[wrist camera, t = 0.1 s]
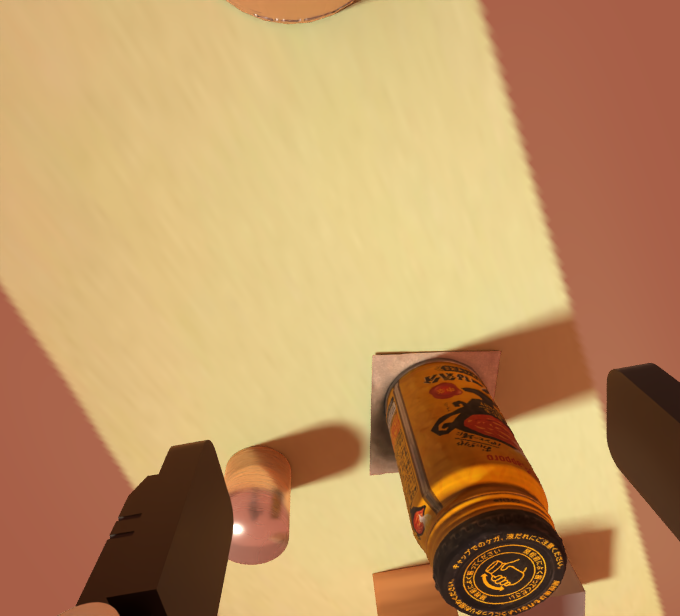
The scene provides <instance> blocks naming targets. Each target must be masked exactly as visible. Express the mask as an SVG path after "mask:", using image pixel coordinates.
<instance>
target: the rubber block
mask: <svg viewBox="0 0 680 616" xmlns="http://www.w3.org/2000/svg"><path fill="white" fill-rule="evenodd" d="M512 616H585V590H584V588H583V586H582V584H581V582H580V581H579V579H578V577H577V575H576V573H575V571H574V569H573V567H572V565H571V564H570V562H569V560H568V558H567V564H566V571H565V574H564V577H563V579H562V581H561V584H560V585H559V586H558V588H557V589H556V590H555V591H554V592H553V593H552V594H551V595H550V597H548V598H547V599H546V600H545V601H543V602H541V603H539V604H538V605H536V606H535V607H533V608H531V609H530V610H527V611H525V612H522V613H520V614H517V615H512Z"/></svg>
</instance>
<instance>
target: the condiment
mask: <svg viewBox="0 0 680 616" xmlns="http://www.w3.org/2000/svg"><path fill="white" fill-rule="evenodd" d="M500 354H501V351H483V352H481V351H475V352H468V351H465V352H434V353H410V354H401V355H373V362H372V394H371V440H370V475H380V474H384V473H397V472H399V474H400V478H401V482H402V486H403V492H404V495H405V500H406V504H407V509H408V513H409V517H410V523H411V527H412V530H413V534H414V536H415V538H416V540H417V542H418V544H419V545H420V547H421V548H422V549H423V550H424V552H425V553H426V554H427V558H428V560H429V563H430V566H431V568H432V570H433V579H434V581H435V588H436V590H437V591H439V592H440V594H441V596H442V598H443V599H444V600H445V602H446V603H447V604H449V605H450V606H452V607H454V608H455V609H457V610H459V611H460V612H463V613H465V614H468V615H470V616H512V615H517V614H520V613H522V612H525V611H527V610H530V609H531V608H533V607H535V606H536V605H538V604H539V603H541V602H543V601H545V600H546V599H547V598H548V597H550V595H551V594H552V593H553V592H554V591H555V590H556V589H557V588H558V586H559V585H560V584H561V581H562V579H563V577H564V574H565V571H566V564H567V555H566V553H565V548H564V546H563V544H562V539H561V538H560V537H559V536H558V535H557V532H556V530H555V528H554V524H553V521H552V519H551V517H550V515H549V514H548V502H547V498H546V495H545V492H544V490H543V488H542V485H541V484H540V481H539V479H538V477H537V476H536V474H535V473H534V471H533V469H532V467H531V465H530V463H529V462H528V460H527V458H526V457H525V455H524V453H523V451H522V449H521V448H520V446H519V444H518V443H517V441H516V439H515V437H514V434H513V432H512V431H511V429H510V428H509V426H508V425H507V423H506V421H505V419H504V417H503V415H502V413H501V412H500V410H499V408H498V407H497V405H496V404H495V402H494V395H495V388H496V379H497V374H498V365H499V360H500Z"/></svg>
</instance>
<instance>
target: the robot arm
mask: <svg viewBox="0 0 680 616" xmlns="http://www.w3.org/2000/svg"><path fill="white" fill-rule="evenodd" d="M226 1H228V2H229V3H231V4H232V5H233V6H235V7H236V8H238V9H239V10H241V11H242V12H245V13H247V14H250V15H252V16H255V17H257V18H260V19H262V20H265V21H271V22H277V23H283V24H296V23H308V22H313V21H316V20H319V19H322V18H325V17H328V16H331V15H333V14H335V13H336V12H338V11H340V10H341V9H343V8H345V7H346V6H348V5H349V4H351V3H352V2H354V1H355V0H226ZM607 442H608V447H609V450H610V453H611V456H612V458H613V460H614V462H615V464H616V465H617V467H618V468H619V470H620V471H621V472H622V473H623V474H624V475H625V477H626V478H627V479H628V480H629V481H630V483H631V484H632V485H633V486H634V487H635V488H636V490H637V491H638V492H639V493H640V495H641V496H642V497H643V498H644V499H645V500H646V502H647V503H648V504H649V505H650V506H651V508H652V509H653V510H654V511H655V512H656V514H657V515H658V516H659V517H660V518H661V520H662V521H663V522H664V523H665V524H666V525H667V526H668V528H669V529H670V530H671V531H672V533H673V534H674V535H675V536H676V537H677V539H678V540H679V541H680V382H678V381H677V380H676V379H674V378H673V377H672V376H670V375H669V374H668V373H666V372H665V371H664V370H662V369H661V368H660V367H658V366H657V365H655V364H653V363H647V364H642V365H636V366H630V367H625V368H619V369H613V370H611V371H610V372H609V374H608V377H607ZM118 518H119V521H117V522H116V523H115V525H114V527H113V529H112V531H111V534H110V539H109V540H107V542H106V544H105V546H104V548H103V550H102V552H101V554H100V556H99V559H98V561H97V563H96V565H95V567H94V569H93V571H92V573H91V575H90V577H89V579H88V581H87V583H86V586H85V588H84V590H83V592H82V594H81V596H80V598H79V600H78V602H77V604H76V606H75V607H73V608H71V609H69V610H67V611H65V612H63V613H61V614H60V615H58V616H217V613H218V608H219V603H220V598H221V593H222V587H223V582H224V577H225V572H226V567H227V562H228V556H229V551H230V546H231V541H232V536H233V527H234V518H233V508H232V503H231V499H230V496H229V493H228V489H227V486H226V483H225V480H224V477H223V473H222V470H221V467H220V464H219V461H218V457H217V454H216V451H215V448H214V446H213V444H212V442H211V441H210V440H204V441H199V442H193V443H187V444H182V445H176V446H172V447H171V448H170V449H169V451H168V453H167V456H166V458H165V461H164V463H163V465H162V468H161V470H160V472H159V474H157V475H151V476H147V477H146V478H145V479H144V480H143V481H142V482H141V483H140V484H139V486H138V487H137V488H136V489H135V490H134V491H133V492H132V493H131V494H130V495H129V496H128V498H127V500H126V502H125V504H124V506H123V509H122V511H121V513H120V515H119V517H118Z"/></svg>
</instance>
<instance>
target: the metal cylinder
mask: <svg viewBox="0 0 680 616" xmlns="http://www.w3.org/2000/svg"><path fill="white" fill-rule="evenodd" d="M224 480H225V483H226V486H227V489H228V493H229V496H230V499H231V503H232V508H233V518H234V527H233V536H232V541H231V546H230V551H229V556H228V559H229V560H231V561H233V562H236V563H240V564H248V565H255V564H262V563H266V562H269V561H271V560H273V559H275V558H276V557H278V556H279V555H280V554H281V553H282V552H283V551H284V550H285V548H286V546H287V544H288V540H289V520H290V492H291V467H290V464H289V462H288V460H287V459H286V458H285V457H284V456H283V455H282V454H281V453H280V452H278V451H276V450H274V449H272V448H268V447H263V446H254V447H248V448H245V449H242V450H240V451H238V452H237V453H235V454H234V455H233V456H232V457H231V458H230V460H229V461H228V463H227V466H226V470H225V475H224Z"/></svg>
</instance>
